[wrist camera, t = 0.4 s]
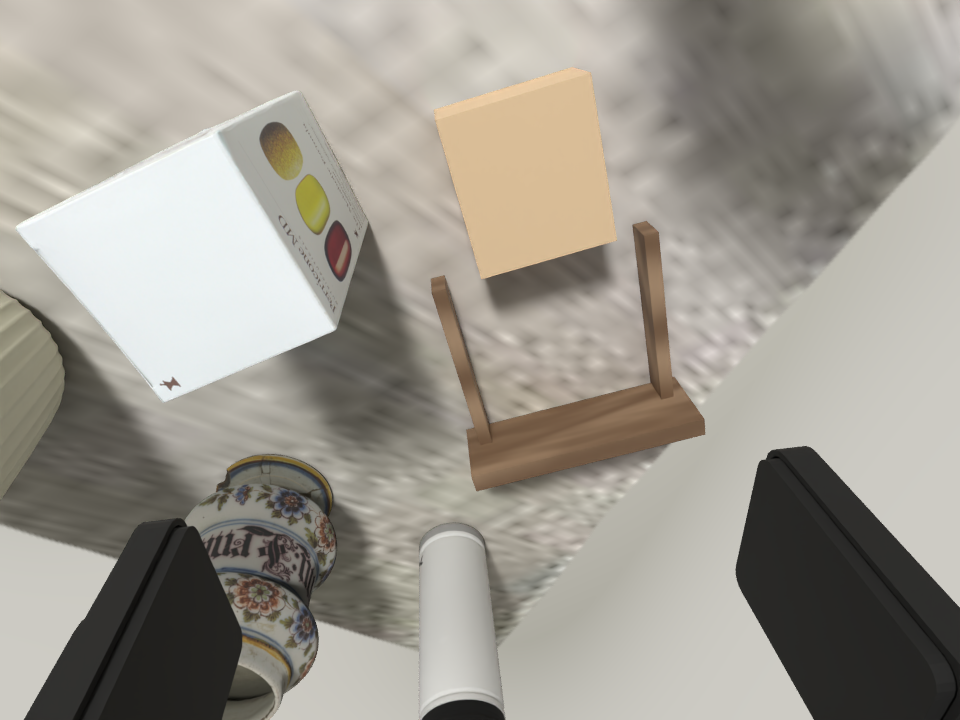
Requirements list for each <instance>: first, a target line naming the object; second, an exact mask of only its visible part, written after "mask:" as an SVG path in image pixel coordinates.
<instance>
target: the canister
mask: <svg viewBox="0 0 960 720" xmlns="http://www.w3.org/2000/svg"><path fill="white" fill-rule="evenodd" d="M62 361H63V359H62V356H61V355H60V354H59V352H58V346H57V344H56V343H55V342H54V341H53V339H52V337H51V334H50V332H49V331H47V330H46V329H45V328H44V326H43V325H42V322H41V321H40V320H38V319H37V318H36V317H35V316H34V315H33V314H32V313H31V311H30V310H29V309H26V308H25V307H23V306H22V305H21V304H20V303H19V302H18V301H17V300H16V299H13V298H11V297H9V296H8V295H6V294H5V293H4V292H3V291H2V290H0V500H1V499H2V497H3V496H4V494H5V493H6V491H7V490H8V488H9V487H10V485H11V484H12V483H13V481H14V480H15V478H16V477H17V475H18V474H19V472H20V471H21V469H22V468H23V466H24V465H25V463H26V462H27V460H28V459H29V457H30V455H31V454H32V452H33V451H34V449H35V447H36V446H37V444H38V443H39V441H40V439H41V438H42V436H43V435H44V433H45V431H46V430H47V428H48V426H49V425H50V423H51V421H52V420H53V418H54V416H55V413H56V412H57V410H58V408H59V406H60V403H61V400H62V394H63V391H64V387H65V381H64V376H65V370H64V367H63V366H62Z"/></svg>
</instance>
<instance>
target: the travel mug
mask: <svg viewBox="0 0 960 720" xmlns="http://www.w3.org/2000/svg"><path fill="white" fill-rule="evenodd" d="M419 559H420V560H419V720H505V712H504V703H503V694H502V686H501V677H500V670H499V661H498V653H497V644H496V636H495V628H494V620H493V611H492V603H491V595H490V587H489V578H488V570H487V562H486V555H485V545H484V540H483V537H482V536H481V534H480V533H479V532H478V531H477V530H476V529H474V528H473V527H471V526H468V525H465V524H461V523H447V524H442V525H439V526H436V527H435V528H433V529H431V530H430V531H428V532H427V533H426V534H425V535H424V537H423V538H422V540H421V542H420V546H419Z"/></svg>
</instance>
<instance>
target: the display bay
mask: <svg viewBox="0 0 960 720" xmlns="http://www.w3.org/2000/svg"><path fill="white" fill-rule="evenodd" d="M633 232H634V241H635V249H636V258H637V267H638V275H639V284H640V293H641V301H642V310H643V319H644V328H645V336H646V345H647V354H648V362H649V371H650V380H651V383H649V384H645V385H641V386H637V387H633V388H629V389H625V390H621V391H617V392H613V393H609V394H605V395H601V396H598V397H594V398H590V399H586V400H582V401H578V402H574V403H570V404H566V405H562V406H558V407H554V408H550V409H546V410H543V411H539V412H535V413H531V414H527V415H523V416H519V417H515V418H511V419H507V420H503V421H499V422H495V423H491V424H489V422H488V418H487V415H486V412H485V409H484V405H483V402H482V399H481V395H480V392H479V389H478V385H477V382H476V379H475V375H474V372H473V369H472V365H471V362H470V359H469V355H468V352H467V349H466V345H465V342H464V339H463V335H462V332H461V329H460V326H459V322H458V319H457V316H456V312H455V309H454V306H453V302H452V299H451V296H450V292H449V289H448V286H447V282H446V279H445V276H440V277H436V278H433V279H431V287H432V295H433V298H434V301H435V305H436V308H437V311H438V314H439V317H440V320H441V323H442V326H443V330H444V333H445V336H446V339H447V342H448V345H449V348H450V352H451V355H452V358H453V361H454V364H455V367H456V370H457V374H458V377H459V380H460V383H461V386H462V389H463V392H464V396H465V399H466V402H467V405H468V408H469V411H470V414H471V418H472V421H473V424H474V427H475V428H472V429H468V430H467V439H468V448H469V457H470V466H471V475H472V480H473V483H474V485H475V488H476V491H480V490H484V489H488V488H492V487H496V486H500V485H504V484H508V483H512V482H516V481H520V480H524V479H528V478H532V477H536V476H540V475H544V474H548V473H552V472H556V471H560V470H564V469H568V468H572V467H576V466H580V465H584V464H588V463H593V462H597V461H601V460H605V459H609V458H613V457H617V456H621V455H625V454H629V453H633V452H637V451H641V450H645V449H649V448H653V447H657V446H661V445H665V444H669V443H673V442H677V441H681V440H685V439H689V438H693V437H697V436H701V435H705V423H704V418H703V416H702V415H701V414H700V412H699V411H698V409H697V408H696V407H695V405H694V404H693V402H692V401H691V400H690V398H689V397H688V395H687V394H686V393H685V391H684V390H683V388H682V387H681V386H680V384H679V383H678V381H677V380H676V379H675V377H672V372H671V361H670V350H669V340H668V329H667V318H666V307H665V296H664V285H663V274H662V263H661V252H660V242H659V232H658V231H657V230H656V229H655V228H654V227H652V226H651V225H650V224H649V223H648V222H647V221H645V222H641V223H638V224H634V225H633Z"/></svg>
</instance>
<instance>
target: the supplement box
mask: <svg viewBox="0 0 960 720" xmlns="http://www.w3.org/2000/svg"><path fill="white" fill-rule="evenodd" d="M367 226H368V221H367V219H366V217H365V215H364V213H363V211H362V209H361V207H360V205H359V203H358V201H357V199H356V197H355V195H354V193H353V191H352V189H351V187H350V185H349V184H348V182H347V180H346V178H345V176H344V174H343V172H342V170H341V168H340V166H339V164H338V162H337V160H336V158H335V156H334V154H333V153H332V151H331V149H330V147H329V145H328V143H327V141H326V139H325V137H324V135H323V133H322V131H321V129H320V127H319V125H318V123H317V121H316V119H315V118H314V116H313V114H312V112H311V110H310V108H309V106H308V104H307V102H306V100H305V99H304V97H303V95H302V93H301V92H300V91H298V90H297V91H293V92H291V93H288V94H285V95H283V96H280V97H278V98H276V99H273V100H271V101H269V102H267V103H265V104H262V105H260V106H258V107H256V108H254V109H252V110H250V111H248V112H245V113H243V114H241V115H239V116H237V117H235V118H232V119H230V120H228V121H225V122H223V123H221V124H218V125H216V126H214V127H211V128H208V129H205V130H202V131H201V132H200V133H198V134H196V135H194V136H192V137H190V138H187V139H185V140H183V141H181V142H179V143H177V144H175V145H173V146H171V147H169V148H167V149H165V150H163V151H161V152H159V153H157V154H155V155H153V156H151V157H149V158H147V159H145V160H143V161H141V162H139V163H137V164H135V165H133V166H131V167H129V168H127V169H126V170H124V171H122V172H120V173H118V174H116V175H114V176H112V177H110V178H108V179H106V180H104V181H102V182H100V183H98V184H96V185H94V186H92V187H90V188H88V189H86V190H84V191H82V192H80V193H78V194H77V195H75V196H73V197H71V198H69V199H67V200H65V201H63V202H61V203H59V204H57V205H55V206H53V207H51V208H49V209H47V210H45V211H43V212H41V213H39V214H37V215H35V216H33V217H31V218H29V219H27V220H25V221H24V222H22V223H20V224H19V225H18V226H17V227H16V231H17V232H18V233H19V234H20V235H21V236H22V237H23V239H24V240H25V241H26V242H27V243H28V244H29V245H30V247H31V248H32V249H34V250H35V251H36V253H37V254H38V255H39V256H40V257H41V258H42V260H43V261H44V262H45V263H46V264H47V265H48V266H49V267H50V269H51V270H52V271H53V272H54V273H55V274H56V275H57V277H58V278H59V279H60V280H61V281H62V282H63V283H64V284H65V286H66V287H67V288H68V289H69V290H70V291H71V292H72V293H73V294H74V296H75V297H76V298H77V299H78V300H79V301H80V303H81V304H82V305H83V306H84V307H85V308H86V310H87V311H88V312H89V313H90V314H91V315H92V317H93V318H94V319H95V320H96V321H97V322H98V324H99V325H100V326H101V327H102V328H103V329H104V331H105V332H106V333H107V334H108V335H109V336H110V338H111V339H112V340H113V341H114V342H115V343H116V345H117V346H118V347H119V348H120V350H121V351H122V352H123V353H124V355H125V356H126V357H127V358H128V360H129V361H130V362H131V363H132V365H133V366H134V367H135V368H136V369H137V371H138V372H139V373H140V374H141V376H142V377H143V378H144V379H145V381H146V382H147V383H148V384H149V386H150V387H151V388H152V390H153V391H154V392H155V394H156V395H157V396H158V398H159V399H160V400H161V401H162V402H167V401H170V400H172V399H175V398H177V397H180V396H182V395H184V394H187V393H189V392H191V391H194V390H196V389H199V388H201V387H203V386H206V385H208V384H210V383H213V382H215V381H218V380H220V379H222V378H225V377H227V376H229V375H232V374H234V373H236V372H239V371H241V370H244V369H246V368H248V367H251V366H253V365H255V364H258V363H260V362H262V361H265V360H267V359H270V358H272V357H274V356H277V355H279V354H281V353H284V352H286V351H289V350H291V349H293V348H296V347H298V346H301V345H303V344H305V343H308V342H310V341H312V340H315V339H317V338H319V337H322V336H324V335H326V334H328V333H331V332H333V331H335V330H336V329H337V326H338V323H339V319H340V316H341V312H342V309H343V305H344V302H345V299H346V296H347V292H348V289H349V285H350V282H351V278H352V275H353V272H354V269H355V266H356V262H357V259H358V255H359V252H360V249H361V246H362V242H363V239H364V236H365V233H366V229H367Z"/></svg>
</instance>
